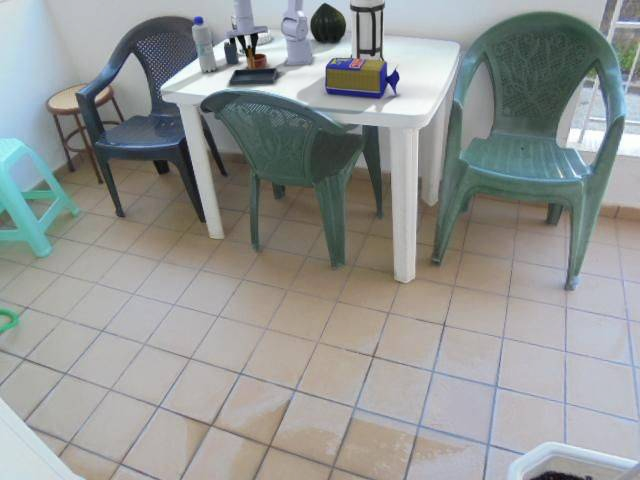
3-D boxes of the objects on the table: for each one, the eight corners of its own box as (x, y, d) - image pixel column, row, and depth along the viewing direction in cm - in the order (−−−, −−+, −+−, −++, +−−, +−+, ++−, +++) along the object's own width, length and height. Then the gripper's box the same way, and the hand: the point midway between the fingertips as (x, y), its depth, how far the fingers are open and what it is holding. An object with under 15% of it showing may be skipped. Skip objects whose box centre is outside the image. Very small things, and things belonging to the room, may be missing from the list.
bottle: (210, 75, 186) (198, 20, 173) (197, 72, 189) (184, 18, 176) (221, 69, 190) (211, 14, 177) (208, 66, 193) (197, 13, 180)
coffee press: (338, 64, 186) (334, -23, 166) (364, 51, 194) (364, -33, 175) (374, 74, 176) (374, -17, 157) (400, 60, 185) (403, -28, 165)
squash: (336, 35, 194) (342, -2, 194) (302, 35, 199) (308, -2, 199) (346, 50, 208) (352, 15, 208) (314, 49, 213) (319, 15, 213)
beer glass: (234, 55, 201) (227, 17, 191) (242, 49, 205) (235, 11, 196) (248, 56, 198) (242, 17, 189) (256, 50, 203) (251, 12, 193)
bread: (332, 83, 172) (331, 54, 166) (401, 89, 165) (402, 58, 158) (322, 95, 165) (321, 65, 159) (394, 101, 158) (395, 70, 151)
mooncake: (263, 46, 207) (261, 37, 204) (239, 43, 211) (237, 35, 209) (276, 37, 215) (275, 28, 212) (253, 34, 219) (252, 26, 217)
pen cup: (268, 63, 191) (267, 52, 188) (266, 71, 185) (264, 60, 182) (249, 64, 192) (248, 53, 189) (246, 72, 186) (244, 61, 183)
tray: (277, 73, 183) (276, 68, 182) (273, 84, 175) (273, 79, 174) (235, 75, 184) (234, 69, 183) (230, 86, 176) (229, 81, 175)
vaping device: (238, 64, 192) (233, 33, 184) (226, 64, 193) (219, 33, 185) (240, 62, 193) (235, 31, 186) (228, 62, 194) (222, 31, 187)
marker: (255, 67, 178) (251, 44, 172) (255, 69, 176) (251, 46, 171) (250, 68, 178) (246, 44, 172) (249, 70, 176) (245, 46, 171)
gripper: (263, 9, 169) (268, 49, 178) (221, 15, 167) (229, 55, 176) (266, 15, 164) (272, 55, 173) (224, 21, 162) (231, 62, 171)
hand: (250, 56), depth 174 cm, fingers closed on marker, 2 cm apart
